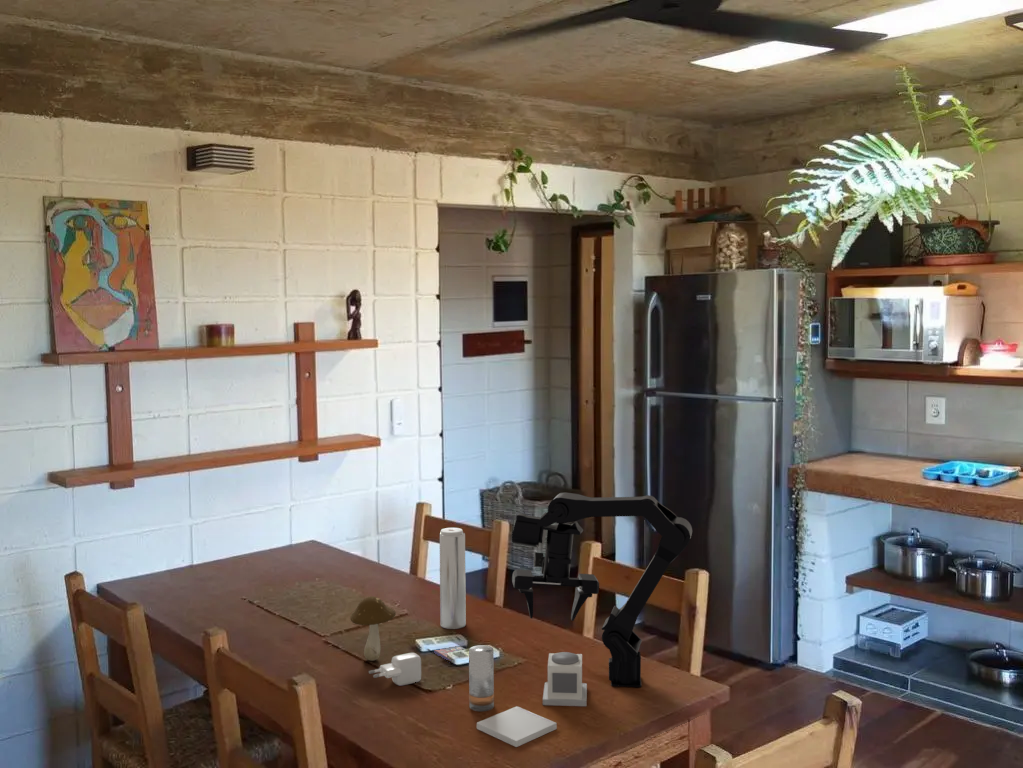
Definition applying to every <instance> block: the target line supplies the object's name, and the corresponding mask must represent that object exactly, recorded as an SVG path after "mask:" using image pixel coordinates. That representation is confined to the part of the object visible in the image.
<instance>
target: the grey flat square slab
mask: <svg viewBox="0 0 1023 768" xmlns="http://www.w3.org/2000/svg"><path fill="white" fill-rule="evenodd" d="M557 727H558V725H557V722H555V721H553V720H550V719H548V718H546V717H543V716H542V715H539V714H536V713H534V712H531V711H529V710H528V709H525V708H522V707H520V706H517V705H516V706H514V707H512V708H511V707H510V708H509V709H507V710H504V711H502V712H500V713H497V714H494V715H492V716H490V717H486V718H485V719H483V720H480V721H477V722H476V729H477V730H478V731H481V732H482V733H485V734H487V735H489V736H491V737H494V738H495V739H498V740H500V741H502V742H504V743H506V744H508V745H510V746H513V747H514V748H517V747H520V746H522V745H524V744H527V743H529V742H531V741H533V740H535V739H537V738H539V737H542V736H544V735H546V734H548V733H551V732H553V731H555V730H557V729H558V728H557Z"/></svg>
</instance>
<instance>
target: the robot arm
mask: <svg viewBox="0 0 1023 768" xmlns="http://www.w3.org/2000/svg"><path fill="white" fill-rule="evenodd" d="M599 517H600V518H604V517H605V518H606V517H608V518H609V517H610V518H611V517H612V518H614V517H643V518H644V519H645V520H647V522H648V523H649V524H650V525H651V526H652V528H653V529H654V530H655V531H656V532H657V533H658V534H659V535H660V536H661V538H660V540H659V543H658V545H657V549H656V551H655V553H654V554H653V557H652V559H651V560H650V561H649V564H648V566H647V567H646V569H645V570H644V572H643V574H641V577H640V579H639V580H638V582H637V583H636V585H635V587H634V588H633V590H632V592H631V593H630V595H629V597H628V598H627V600H626V602H625V603H624V604H623V605H622V607H620V608H619V607H617V606H616V605H614V606H613V608H612V610H611V612H610V614H609V615H608V617H606V619H605V621H604V623H603V625H602V627H601V630H603V632H602V635H601V640H602V644H603V645H604V647H605V648H606V649H608V650H609V653H610V655H611V657H609V658H608V680H609V681H610V686H611V687H617V688H618V687H622V688H641V687H642V685H643V684H642V678H641V677H642V676H641V675H642V673H641V672H642V671H641V670H642V669H641V668H642V660H641V659H642V656H641V652H640V651H639V650H640V647H641V644H642V638H641V637H639V635H638V634H637V633H635V631H634V628H635V625H636V622H637V620H638V618H639V615H640V614H641V612H642V611H643V609H644V607H645V606H646V604H647V602H648V600H649V599H650V597H651V596H652V594H653V592H654V590H655V589H656V588H657V585H658V584H659V582H660V580H661V579H662V577H663V576H664V574H665V572H666V570H667V569H668V568H669V565H670V564H672V562H674V560H676V559H677V558H678V557H679V555H681V553H682V552H683V551H684V550H685V549H686V548H687V547H688V546H689V544H690V541H691V539H692V536H693V535H692V534H693V526H692V525H691V523H690V522H689V520H687V519H686V518H683V517H679V516H677V514H676V513H674V512H673V511H672V510H670V509H669V508H668V507H666V506H664V505H663V504H662V503H660V502H659V501H658V500H657V499H656V498H655V497H654V496H653V495H649V494H648V495H644V496H618V497H617V496H615V497H614V496H612V497H611V496H610V497H607V496H606V497H604V496H603V497H590V496H586V495H583V494H579V493H571V492H560V493H558V494H557V495H556V496H555V497H554V498H553V499H552V500H551V501H550V502H549V504H548V506H547V512H544V513H543V514H542V515H541V516H535V515H527V514H526V513H521V512H519V513H518V514H517V515H516V518H515V519H516V520H515V523H514V527H513V529H512V532H511V542H512V544H513V545H518V546H519V545H520V546H526V547H531V548H540V544H541V545H544V543H545V541H546V543H545V553H543V552H534V555H533V567H534V568H541V570H540V572H541V574H542V575H534V574H533V573H532V570H531V569H515V570H514V571H513V572H512V576H511V582H512V585H513V589H516V590H518V591H519V593H521V594H524V597H525V599H526V600H525V601H526V603H527V604H526V605H527V608H528V613H529V618H530V619H533V617H534V590H533V585H537V586H540V585H541V586H554V587H571V588H574V589H575V591H574V598H573V604H572V608H571V613H570V620H571V621H572V622H574V621H575V619H576V617H577V616H578V613H579V612H580V610H581V608H582V606H583V605H584V603H585V602H586V601H587V600H588V598H593V595H599V591H600V582H599V580H598V578H597V577H596V575H595V574H592V573H591V574H590V573H578V576H577V577H570V571H571V562H572V552H573V551H572V550H573V541H574V536H580V535H581V534H582V533H583V531H584V529H583V527H581V526H580V524H579V523H578V521H580V520H583V519H584V520H585V519H589V518H599ZM572 522H573V523H572ZM570 523H571V524H570ZM544 554H545V555H544Z"/></svg>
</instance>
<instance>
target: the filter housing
mask: <svg viewBox="0 0 1023 768" xmlns="http://www.w3.org/2000/svg"><path fill="white" fill-rule="evenodd" d="M587 684H588V683H585V682H583V654H582V653H574V652H568V651H561V652H556V653H553V652H552V653H551V652H549V653H548V660H547V681H546V682H544V686H543V694H542V706H563V707H564V706H566V707H567V706H568V707H587V701H588V700H587V699H588V698H587V695H588V694H587V693H588V689H587V688H588V685H587Z"/></svg>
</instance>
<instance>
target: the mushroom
mask: <svg viewBox="0 0 1023 768" xmlns="http://www.w3.org/2000/svg"><path fill="white" fill-rule="evenodd" d="M396 613H397V612H396V611H395V609H394V608H392V607H390V606H388V605H386V604H385V602H384V601H383V600H382V599H381V598H379V597H378V596H373V595H371V596H366V597H364V598H363V599H362V600H361V601H359V603H358V605H357V607H356V608H355V610H354V611H353V612H351V614H350V617H349V619H350V622H352V624H355V625H359V626H369V632H368V636H367V640H366V643H365V645H364V650H363V651H364V652H363V655H364V657H365V660H368V661H371V662H372V661H376V660H378V659H379V657H380V655H381V640H380V633H379V624H383V623H387V622H390V621H391V620H393V618H394V617H395V616H396Z"/></svg>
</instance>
